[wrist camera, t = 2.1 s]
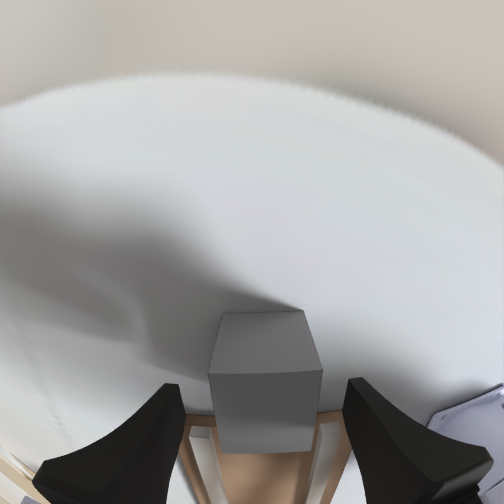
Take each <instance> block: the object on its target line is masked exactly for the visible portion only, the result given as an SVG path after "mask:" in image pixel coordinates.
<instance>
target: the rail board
mask: <svg viewBox="0 0 504 504" xmlns="http://www.w3.org/2000/svg"><path fill="white" fill-rule="evenodd" d="M351 449H352V446H351V443H350V441H349V438H348V435H347V432H346V428H345V424H344V419H343V414H342V410H340V411H333V412H324V413H317V417H316V423H315V429H314V435H313V441H312V447H311V451H301V452H288V453H267V454H230V453H222V450H221V445H220V440H219V435H218V430H217V424H216V419H215V416H200V415H186V421H185V427H184V433H183V437H182V441H181V444H180V447H179V454H180V457H181V459H182V462H183V465H184V467H185V470H186V472H187V475H188V477H189V479H190V482H191V484H192V486H193V489H194V491H195V493H196V495H197V498H198V500H199V502H200V504H330V502H331V500H332V498H333V495H334V493H335V491H336V488H337V486H338V484H339V481H340V479H341V476H342V474H343V471H344V468H345V466H346V463H347V460H348V458H349V455H350V452H351Z"/></svg>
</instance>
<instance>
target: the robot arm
mask: <svg viewBox="0 0 504 504" xmlns="http://www.w3.org/2000/svg"><path fill="white" fill-rule="evenodd" d="M342 414H343V419H344V424H345V428H346V432H347V435H348V438H349V441H350V443H351V446H352V449H353V452H354V454H355V457H356V460H357V463H358V466H359V469H360V472H361V476H362V480H363V485H364V490H365V496H366V502H367V504H504V386H502V387H500V388H498V389H496V390H494V391H491V392H489V393H487V394H485V395H482V396H480V397H478V398H475V399H473V400H470V401H468V402H465V403H463V404H460V405H458V406H455V407H452V408H449V409H446V410H444V411H441V412H438V413H436V414H435V415H434V416H433V417H432V419H431V421H430V423H429V425H428V427H425V426H423V425H421V424H420V423H418V422H416V421H415V420H413V419H411V418H410V417H408V416H407V415H406V414H404V413H403V412H401V411H400V410H399V409H397V408H396V407H395V406H394V405H392V404H391V403H390V402H389V401H388V400H386V399H385V398H384V397H383V396H382V395H381V394H380V393H379V392H377V391H376V390H375V389H374V388H373V387H372V386H371V385H370V384H369V383H368V382H367V381H366V380H364V379H363V378H362V377H359V378H352V379H349V380H348V385H347V390H346V395H345V400H344V404H343V409H342ZM185 421H186V413H185V410H184V406H183V402H182V398H181V394H180V389H179V385H178V384H168V383H165V384H164V385H163V386H162V387H161V388H160V389H159V390H158V391H157V392H156V393H155V394H154V395H153V396H152V397H151V398H150V399H149V400H148V401H147V402H146V403H145V404H144V405H143V406H142V407H141V408H140V409H139V410H138V411H137V412H136V413H135V414H133V415H132V416H131V417H130V418H129V419H128V420H126V421H125V422H124V423H123V424H122V425H120V426H119V427H118V428H116V429H115V430H114V431H112V432H111V433H109V434H108V435H106V436H105V437H103V438H101V439H99V440H98V441H96V442H94V443H92V444H90V445H88V446H86V447H84V448H82V449H80V450H77V451H75V452H72V453H70V454H67V455H64V456H60V457H57V458H53V459H49V460H45V461H44V462H43V463H42V465H41V467H40V468H39V470H38V472H37V473H36V475H35V477H34V478H33V480H32V483H33V485H34V487H35V488H36V489H37V490H38V492H40V494H41V495H43V496H44V497H45V498H46V499H47V500H48V501H49V502H50V503H51V504H166V500H167V493H168V487H169V481H170V477H171V473H172V470H173V467H174V464H175V460H176V457H177V454H178V451H179V447H180V444H181V441H182V437H183V433H184V427H185ZM21 504H40V503H39V502H37V501H35V500H33V499H32V498H30V497H28V496H25V497H24V498H23V500H22V502H21Z"/></svg>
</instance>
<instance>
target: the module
mask: <svg viewBox="0 0 504 504" xmlns="http://www.w3.org/2000/svg"><path fill="white" fill-rule="evenodd" d="M322 372H323V369H322V366H321V363H320V359H319V356H318V353H317V350H316V347H315V344H314V341H313V338H312V335H311V332H310V329H309V326H308V323H307V320H306V317H305V314H304V311H282V312H251V313H223V315H222V319H221V323H220V327H219V331H218V335H217V339H216V343H215V347H214V351H213V355H212V359H211V363H210V367H209V371H208V376H209V383H210V389H211V395H212V401H213V407H214V413H215V419H216V424H217V430H218V435H219V440H220V445H221V450H222V453H230V454H267V453H288V452H301V451H311V447H312V441H313V435H314V429H315V423H316V417H317V410H318V403H319V396H320V388H321V380H322Z"/></svg>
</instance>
